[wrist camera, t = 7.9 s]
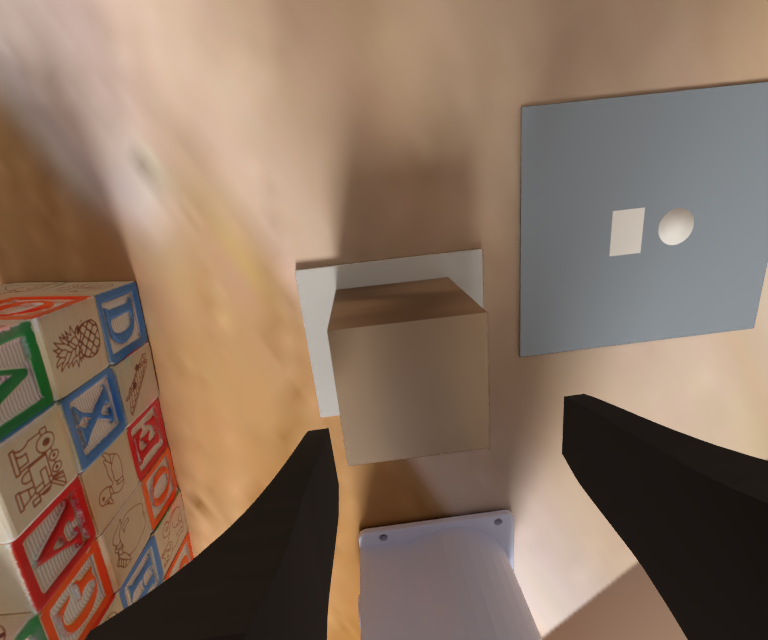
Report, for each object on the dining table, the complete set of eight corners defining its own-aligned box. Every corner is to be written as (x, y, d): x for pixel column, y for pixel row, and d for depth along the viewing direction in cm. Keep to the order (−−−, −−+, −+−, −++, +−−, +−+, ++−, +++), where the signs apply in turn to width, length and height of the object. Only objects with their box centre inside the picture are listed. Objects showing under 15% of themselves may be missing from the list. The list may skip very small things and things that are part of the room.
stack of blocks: (-1, 280, 18) (-652, 436, 6) (139, 277, 18) (-234, 421, 7) (103, 612, 25) (-126, 988, 13) (204, 605, 25) (72, 965, 13)
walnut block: (350, 390, 21) (347, 466, 15) (335, 289, 19) (326, 330, 13) (453, 378, 21) (489, 447, 15) (448, 276, 19) (487, 312, 13)
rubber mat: (321, 414, 21) (320, 417, 21) (295, 269, 19) (294, 270, 18) (483, 393, 21) (485, 396, 21) (480, 248, 19) (482, 249, 19)
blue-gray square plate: (519, 356, 21) (520, 357, 21) (521, 107, 17) (522, 107, 17) (752, 327, 21) (754, 328, 21) (803, 78, 18) (805, 78, 18)
